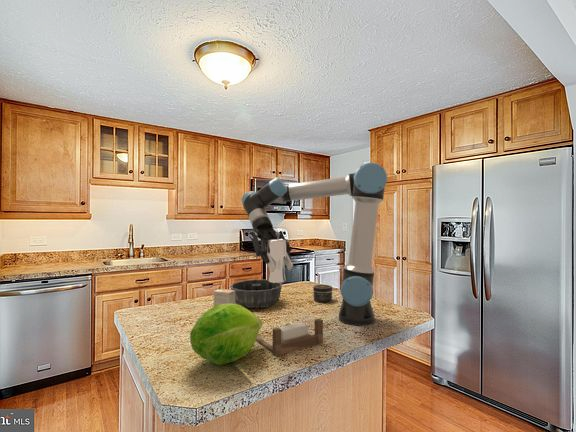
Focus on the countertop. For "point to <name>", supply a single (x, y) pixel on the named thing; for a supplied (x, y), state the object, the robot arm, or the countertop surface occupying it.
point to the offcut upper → (293, 330)
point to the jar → (322, 293)
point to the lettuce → (225, 333)
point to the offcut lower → (295, 337)
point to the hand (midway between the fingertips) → (282, 268)
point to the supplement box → (224, 297)
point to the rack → (295, 344)
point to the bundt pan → (256, 293)
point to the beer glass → (277, 259)
